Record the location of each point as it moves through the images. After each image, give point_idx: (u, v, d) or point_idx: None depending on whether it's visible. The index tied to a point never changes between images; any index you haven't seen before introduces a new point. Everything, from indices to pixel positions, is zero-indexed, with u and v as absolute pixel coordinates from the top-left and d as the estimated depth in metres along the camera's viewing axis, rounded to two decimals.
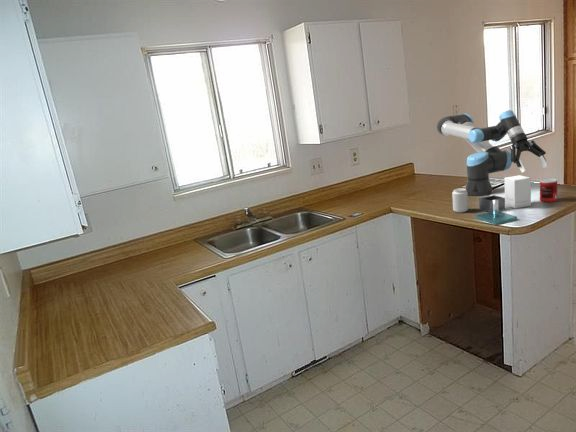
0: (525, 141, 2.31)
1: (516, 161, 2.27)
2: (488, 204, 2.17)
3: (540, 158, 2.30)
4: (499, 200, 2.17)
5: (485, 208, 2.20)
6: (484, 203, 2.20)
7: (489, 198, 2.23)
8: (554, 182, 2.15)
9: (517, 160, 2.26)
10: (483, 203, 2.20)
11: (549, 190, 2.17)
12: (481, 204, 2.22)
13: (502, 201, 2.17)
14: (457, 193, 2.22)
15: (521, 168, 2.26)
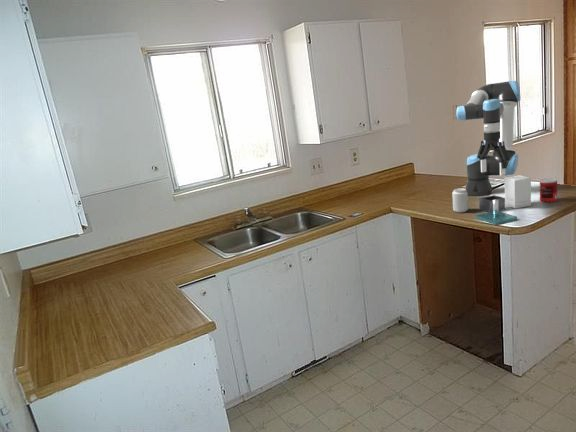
0: (493, 141, 2.11)
1: None
2: (488, 204, 2.17)
3: None
4: (499, 200, 2.17)
5: (485, 208, 2.20)
6: (484, 203, 2.20)
7: (489, 198, 2.23)
8: (554, 182, 2.15)
9: (480, 159, 2.23)
10: (483, 203, 2.20)
11: (549, 190, 2.17)
12: (481, 204, 2.22)
13: (502, 201, 2.17)
14: (457, 193, 2.22)
15: None
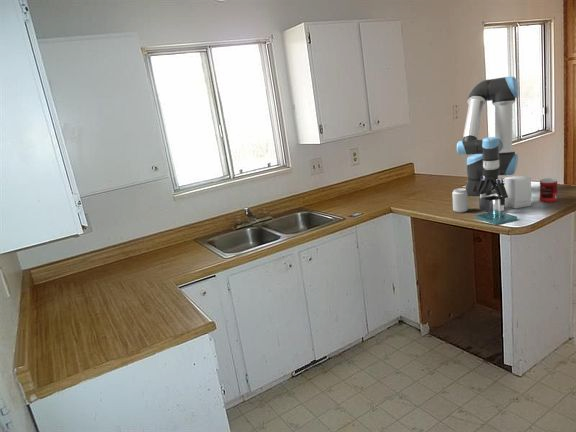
0: (492, 178, 2.15)
1: (480, 193, 2.28)
2: (488, 204, 2.17)
3: None
4: None
5: (485, 208, 2.20)
6: (484, 203, 2.20)
7: (489, 198, 2.23)
8: (554, 182, 2.15)
9: (479, 193, 2.27)
10: (483, 203, 2.20)
11: (549, 190, 2.17)
12: (481, 204, 2.22)
13: None
14: (457, 193, 2.22)
15: None
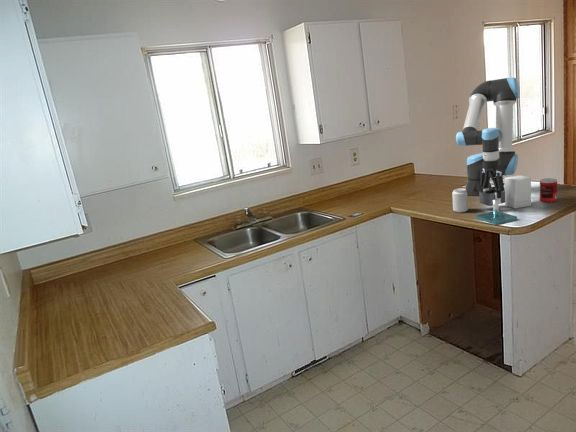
0: (492, 168, 2.14)
1: (483, 188, 2.25)
2: (488, 198, 2.16)
3: None
4: None
5: (485, 201, 2.20)
6: (484, 197, 2.19)
7: (489, 191, 2.22)
8: (554, 182, 2.15)
9: (483, 188, 2.24)
10: (483, 196, 2.20)
11: (549, 190, 2.17)
12: (481, 198, 2.22)
13: (502, 194, 2.17)
14: (457, 193, 2.22)
15: None
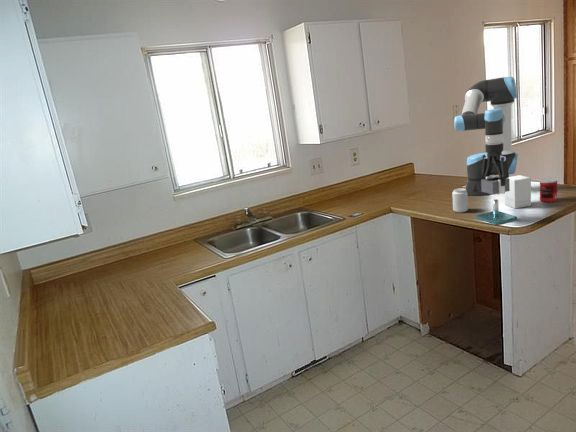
0: (495, 153, 1.96)
1: None
2: (491, 185, 1.98)
3: None
4: None
5: (487, 189, 2.01)
6: (487, 184, 2.01)
7: (492, 179, 2.04)
8: (554, 182, 2.15)
9: (485, 176, 2.06)
10: (486, 184, 2.02)
11: (549, 190, 2.17)
12: (483, 186, 2.04)
13: (506, 182, 1.99)
14: (457, 193, 2.22)
15: None
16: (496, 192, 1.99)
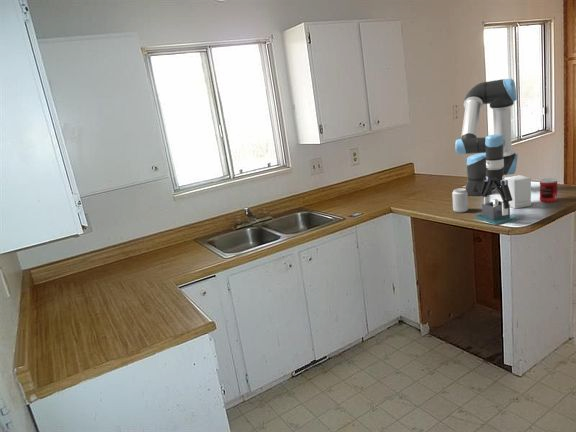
0: (496, 178, 1.99)
1: None
2: (492, 211, 2.02)
3: None
4: None
5: (488, 214, 2.05)
6: (487, 209, 2.05)
7: None
8: (554, 182, 2.15)
9: (483, 196, 2.11)
10: (487, 209, 2.05)
11: (549, 190, 2.17)
12: (484, 210, 2.07)
13: None
14: (457, 193, 2.22)
15: None
16: (497, 217, 2.02)
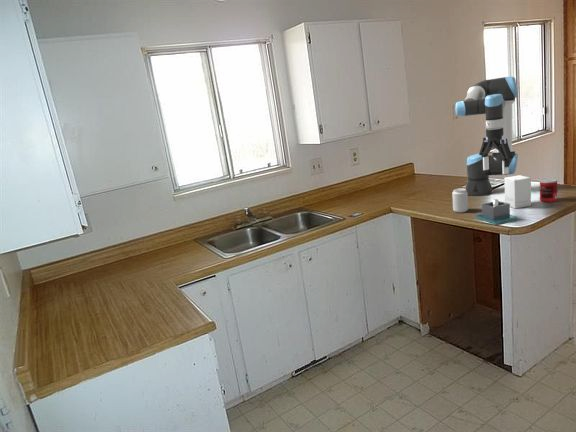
0: (495, 138, 2.01)
1: None
2: (492, 211, 2.02)
3: None
4: (503, 206, 2.02)
5: (488, 214, 2.05)
6: (487, 209, 2.05)
7: None
8: (554, 182, 2.15)
9: (482, 156, 2.14)
10: (487, 209, 2.05)
11: (549, 190, 2.17)
12: (484, 210, 2.07)
13: (507, 207, 2.02)
14: (457, 193, 2.22)
15: None
16: (497, 217, 2.02)
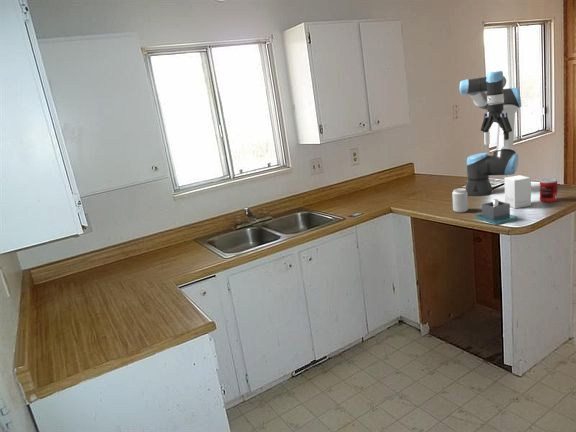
0: (496, 113, 2.14)
1: (484, 132, 2.27)
2: (492, 211, 2.02)
3: None
4: (503, 206, 2.02)
5: (488, 214, 2.05)
6: (487, 209, 2.05)
7: None
8: (554, 182, 2.15)
9: (483, 131, 2.26)
10: (487, 209, 2.05)
11: (549, 190, 2.17)
12: (484, 210, 2.07)
13: (507, 207, 2.02)
14: (457, 193, 2.22)
15: None
16: (497, 217, 2.02)
